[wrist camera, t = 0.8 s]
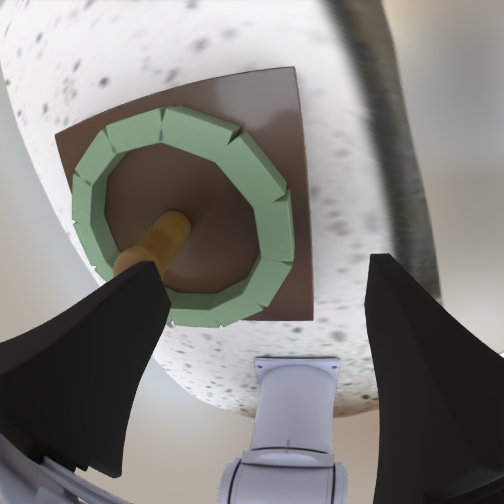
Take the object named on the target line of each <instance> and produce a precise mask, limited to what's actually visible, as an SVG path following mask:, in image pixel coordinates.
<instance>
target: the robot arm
mask: <svg viewBox="0 0 504 504" xmlns="http://www.w3.org/2000/svg"><path fill="white" fill-rule="evenodd" d="M171 305H172V303H171V301H170V299H169V296H168V294H167V292H166V289H165V287H164V284H163V282H162V279H161V277H160V274H159V272H158V269H157V266H156V264H155V261H140V262H138V263H136V264H134V265H133V266H131V267H129V268H128V269H126V270H124V271H123V272H121V273H120V274H118V275H117V276H115V277H114V278H112V279H111V280H110V281H108V282H107V283H105V284H104V285H102V286H101V287H100V288H98V289H97V290H95V291H94V292H92V293H91V294H90V295H88V296H87V297H85V298H84V299H82V300H81V301H79V302H78V303H77V304H75V305H73V306H72V307H71V308H69V309H67V310H66V311H64V312H62V313H61V314H59V315H58V316H56V317H54V318H53V319H51V320H49V321H47V322H46V323H44V324H42V325H40V326H38V327H36V328H34V329H32V330H30V331H28V332H26V333H24V334H21V335H19V336H17V337H14V338H12V339H9V340H7V341H4V342H1V343H0V504H86V503H84V502H81V501H79V500H78V497H79V498H80V499H82V500H84V501H85V502H87V503H89V504H132V503H130V502H128V501H126V500H123V499H121V498H119V497H117V496H115V495H113V494H111V493H109V492H107V491H105V490H103V489H101V488H99V487H97V486H95V485H94V484H92V483H90V482H88V481H86V480H85V479H83V478H81V477H80V476H78V475H76V474H74V472H75V469H76V467H78V468H79V469H81V470H83V471H87V469H88V466H90V467H92V468H94V469H95V470H97V471H99V472H101V473H103V474H106V475H108V476H110V477H112V478H118V477H120V476H121V475H122V458H123V448H124V441H125V436H126V430H127V425H128V420H129V416H130V411H131V408H132V404H133V401H134V398H135V394H136V391H137V388H138V385H139V382H140V380H141V377H142V375H143V372H144V370H145V368H146V366H147V364H148V362H149V360H150V358H151V355H152V353H153V351H154V349H155V347H156V345H157V343H158V341H159V338H160V336H161V334H162V332H163V330H164V327H165V324H166V321H167V318H168V315H169V312H170V308H171ZM364 306H365V316H366V326H367V334H368V339H369V344H370V349H371V354H372V359H373V364H374V370H375V376H376V381H377V388H378V396H379V411H380V412H379V413H380V437H379V458H378V470H377V480H376V487H375V493H374V499H373V504H504V358H503V357H502V356H500V355H499V354H498V353H496V352H495V351H493V350H492V349H491V348H489V347H488V346H487V345H486V344H484V343H483V342H482V341H480V340H479V339H478V338H477V337H475V336H474V335H473V334H472V333H471V332H469V331H468V330H467V329H466V328H465V327H464V326H463V325H461V324H460V323H459V322H458V321H457V320H456V319H455V318H453V317H452V316H451V315H450V314H449V313H448V312H447V311H446V310H445V309H444V308H443V307H442V306H441V305H440V304H439V303H438V302H437V301H436V300H435V299H434V298H433V297H432V296H430V295H429V293H428V292H427V291H426V290H425V289H424V288H423V287H422V286H421V285H420V284H419V283H418V282H417V281H416V280H415V279H414V278H413V277H412V276H411V275H410V274H409V273H408V272H407V271H406V270H405V269H404V268H403V267H402V266H401V265H400V264H399V263H398V262H397V261H396V260H395V259H394V258H393V257H392V256H391V255H390V254H389V253H387V254H370V263H369V272H368V281H367V289H366V296H365V303H364ZM254 365H255V369H256V373H257V377H258V380H259V384H260V388H261V390H260V396H259V401H258V406H257V412H256V417H255V422H254V427H253V432H252V437H251V442H250V447H249V450H244V451H243V454H242V458H235V459H234V460H233V461H232V462H230V463H229V464H228V465H227V466H226V468H225V469H224V471H223V474H222V476H221V479H220V483H219V487H218V493H217V504H346V499H347V488H348V474H347V469H346V468H345V467H344V466H343V465H342V463H341V462H334V454H331V452H332V430H333V402H334V397H335V392H336V386H337V381H338V375H339V369H340V360H339V359H337V358H328V359H274V358H256V359H255V361H254ZM333 463H334V464H333Z"/></svg>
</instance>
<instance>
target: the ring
mask: <svg viewBox="0 0 504 504" xmlns="http://www.w3.org/2000/svg"><path fill="white" fill-rule="evenodd" d="M239 129H240V126H238V125H235V124H233V123H230V122H227V121H225V120H222V119H219V118H216V117H214V116H211V115H208V114H205V113H202V112H199V111H196V110H193V109H190V108H186V107H183V106H176V107H174V106H168V107H163V108H158V109H155V110H151V111H148V112H145V113H142V114H138V115H135V116H132V117H129V118H126V119H123V120H120V121H118V122H115V123H112V124H109V125H107V126H106V128H105V129H102V130H101V131H100V132H99V133H98V135H97V136H96V138H95V139H94V140H93V142H92V143H91V145H90V146H89V148H88V149H87V151H86V152H85V154H84V155H83V157H82V158H81V160H80V162H79V163H78V165H77V166H76V168H75V170H76V173H74V174H73V187H72V220H74V221H76V222H75V223H74V224H73V225H74V228H75V230H76V233H77V235H78V238H79V240H80V242H81V244H82V247H83V249H84V251H85V253H86V256H87V258H88V260H89V262H90V264H91V266H96V265H97V266H96V268H95V271H96V272H97V273H98V274H99V275H100V276H101V277H102V278H103V279H104V280H105V281H106V282H108V281H110V280H111V279H112V278H113V266H114V263H115V261H116V259H117V257H118V256H119V255H120V252H119V250H118V249H117V247H116V244H115V242H114V239H113V237H112V234H111V231H110V229H109V226H108V223H107V221H106V218H105V215H104V208H105V197H106V188H107V180H108V176H109V174H110V173H111V172H112V171H113V169H114V168H115V167H116V166H117V164H118V163H119V162H120V161H121V159H122V158H123V157H124V156H125V155H126V153H127V152H128V151H129V150H133V149H137V148H141V147H145V146H149V145H153V144H157V143H161V142H162V143H165V144H168V145H170V146H173V147H176V148H179V149H182V150H184V151H187V152H190V153H192V154H195V155H198V156H200V157H203V158H206V159H208V160H211V161H213V162H215V163H216V164H217V165H218V166H219V167H220V168H221V170H222V171H223V172H224V173H225V174H226V176H227V177H228V178H229V179H230V180H231V182H232V183H233V184H234V185H235V186H236V188H237V189H238V190H239V191H240V192H241V194H242V195H243V196H244V197H245V199H246V200H247V201H248V202H249V203H250V205H251V206H252V207H253V208H254V215H255V221H256V227H257V234H258V240H259V246H260V253H259V255H258V257H257V259H256V261H255V263H254V265H253V267H252V269H251V271H250V273H249V275H248V277H247V278H245V279H243V280H241V281H240V282H238V283H236V284H234V285H232V286H230V287H228V288H226V289H224V290H223V291H221V292H219V293H217V294H204V293H178V292H175V291H173V290H171V289H169V288H167V287H165V289H166V292H167V294H168V296H169V299H170V301H171V303H172V305H171V308H170V312H169V315H168V318H167V321H166V322H168V323H171V322H172V320H173V322H174V324H175V325H179V326H192V327H208V328H219V326H220V324H221V325H222V326H223V327H225V326H227V325H230V324H232V323H234V322H237V321H239V320H242V319H244V318H246V317H249V316H251V315H253V314H255V313H258V312H260V311H262V310H263V308H264V306H265V307H268V305H269V304H270V302H271V300H272V299H273V297H274V296H275V294H276V292H277V291H278V289H279V288H280V286H281V284H282V283H283V281H284V280H285V278H286V276H287V275H288V273H289V271H290V270H291V268H292V262H293V260H294V250H295V239H294V227H293V216H292V206H291V196H290V190H289V189H286V185H287V182H286V180H285V179H284V178H283V176H282V175H281V174H280V173H279V171H278V170H277V169H276V167H275V166H274V165H273V163H272V162H271V161H270V160H269V158H268V157H267V156H266V155H265V153H264V152H263V151H262V149H261V148H260V147H259V146H258V144H257V143H256V142H255V141H254V140H253V138H252V137H251V136H250V135H249V133H248V132H247V131H245V132H243V133H242V134H241V135H239V136H238V137H237V134H238V132H239ZM236 137H237V138H236Z"/></svg>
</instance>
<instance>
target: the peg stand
mask: <svg viewBox="0 0 504 504" xmlns="http://www.w3.org/2000/svg"><path fill="white" fill-rule="evenodd" d="M168 106H174V107H176V106H183V107H186V108H190V109H193V110H196V111H199V112H202V113H205V114H208V115H211V116H214V117H216V118H219V119H222V120H225V121H227V122H230V123H233V124H235V125H238V126H240V129H239V132H238V134H237V137H238V136H239V135H241V134H242V133H243V132H245V131H247V132H248V133H249V135H250V136H251V137H252V138H253V140H254V141H255V142H256V143H257V144H258V146H259V147H260V148H261V149H262V151H263V152H264V153H265V155H266V156H267V157H268V158H269V160H270V161H271V162H272V163H273V165H274V166H275V167H276V169H277V170H278V171H279V173H280V174H281V175H282V176H283V178H284V179H285V180H286V182H287V185H286V189H289V190H290V196H291V206H292V216H293V227H294V239H295V250H294V260H293V262H292V268H291V270H290V271H289V273H288V275H287V276H286V278H285V280H284V281H283V283H282V284H281V286H280V288H279V289H278V291H277V292H276V294H275V296H274V297H273V299H272V300H271V302H270V304H269V305H268V307H265V306H264V308H263V310H262V311H260V312H258V313H255V314H253V315H251V316H249V317H246V318H244V319H242V320H247V321H313V320H314V287H313V252H312V230H311V212H310V197H309V183H308V171H307V160H306V149H305V139H304V130H303V121H302V113H301V105H300V97H299V90H298V83H297V76H296V70H295V67H293V66H292V67H281V68H272V69H264V70H256V71H250V72H243V73H237V74H231V75H226V76H221V77H216V78H211V79H207V80H202V81H198V82H194V83H190V84H186V85H182V86H178V87H175V88H171V89H168V90H164V91H161V92H158V93H154V94H151V95H148V96H145V97H142V98H139V99H136V100H133V101H131V102H128V103H125V104H122V105H120V106H117V107H115V108H112V109H109V110H107V111H105V112H102V113H100V114H97V115H95V116H93V117H90V118H88V119H86V120H84V121H82V122H79V123H77V124H75V125H73V126H71V127H69V128H67V129H65V130H63V131H61V132H59V133H57V134H55V139H56V143H57V147H58V151H59V155H60V158H61V162H62V165H63V168H64V172H65V175H66V178H67V181H68V184H69V187H70V190H71V193H72V187H73V174H74V173H76V170H75V168H76V166H77V165H78V163H79V162H80V160H81V158H82V157H83V155H84V154H85V152H86V151H87V149H88V148H89V146H90V145H91V143H92V142H93V140H94V139H95V138H96V136H97V135H98V133H99V132H100V131H101V130H102V129H105V128H106V126H107V125H109V124H112V123H115V122H118V121H120V120H123V119H126V118H129V117H132V116H135V115H138V114H142V113H145V112H148V111H151V110H155V109H158V108H163V107H168ZM237 137H236V138H237ZM104 215H105V218H106V221H107V223H108V226H109V229H110V231H111V234H112V237H113V239H114V242H115V244H116V247H117V249H118V250H119V252H120V255H119V256H118V257H117V259H116V261H115V263H114V266H113V278H114V277H115V276H117V275H118V274H120V273H121V272H123V271H124V270H126V269H128V268H129V267H131V266H133V265H134V264H136V263H138V262H140V261H155V264H156V266H157V269H158V272H159V274H160V277H161V279H162V282H163V284H164V287H167V288H169V289H171V290H173V291H175V292H178V293H204V294H217V293H219V292H221V291H223V290H224V289H226V288H228V287H230V286H232V285H234V284H236V283H238V282H240V281H241V280H243V279H245V278H247V277H248V275H249V273H250V271H251V269H252V267H253V265H254V263H255V261H256V259H257V257H258V255H259V253H260V246H259V240H258V234H257V227H256V221H255V215H254V208H253V207H252V206H251V205H250V203H249V202H248V201H247V200H246V199H245V197H244V196H243V195H242V194H241V192H240V191H239V190H238V189H237V188H236V186H235V185H234V184H233V183H232V182H231V180H230V179H229V178H228V177H227V176H226V174H225V173H224V172H223V171H222V170H221V168H220V167H219V166H218V165H217V164H216V163H215V162H213V161H211V160H208V159H206V158H203V157H200V156H198V155H195V154H192V153H190V152H187V151H184V150H182V149H179V148H176V147H173V146H170V145H168V144H165V143H162V142H161V143H157V144H153V145H149V146H145V147H141V148H137V149H133V150H129V151H128V152H127V153H126V155H125V156H124V157H123V158H122V159H121V161H120V162H119V163H118V164H117V166H116V167H115V168H114V169H113V171H112V172H111V173H110V174H109V176H108V180H107V188H106V197H105V208H104Z"/></svg>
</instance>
